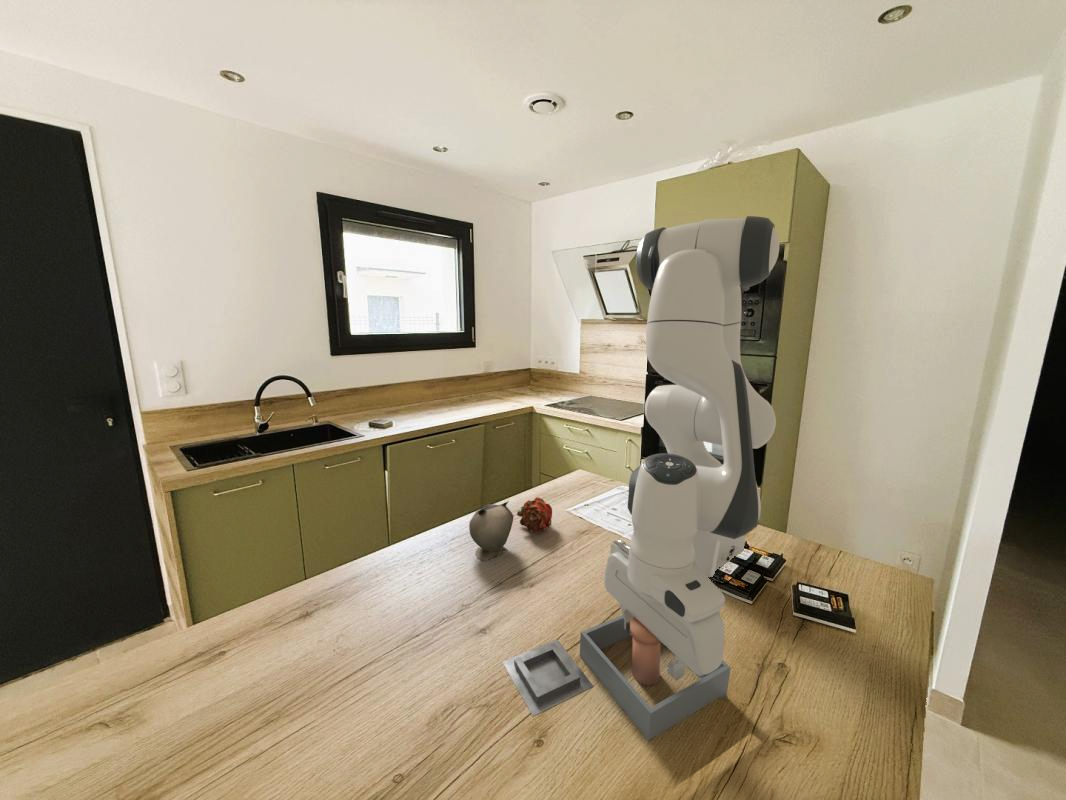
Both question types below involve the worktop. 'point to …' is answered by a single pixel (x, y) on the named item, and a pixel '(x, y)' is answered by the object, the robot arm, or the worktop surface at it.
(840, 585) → the worktop surface
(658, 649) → the butternut squash
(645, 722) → the slate tray
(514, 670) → the socket plate
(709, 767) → the worktop surface
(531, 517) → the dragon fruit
